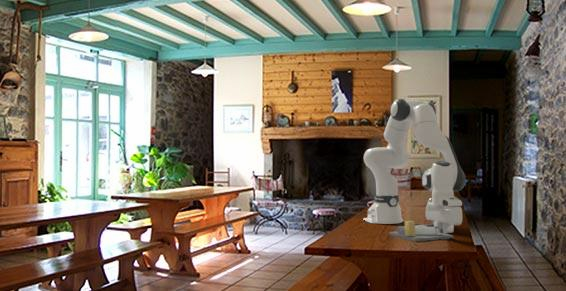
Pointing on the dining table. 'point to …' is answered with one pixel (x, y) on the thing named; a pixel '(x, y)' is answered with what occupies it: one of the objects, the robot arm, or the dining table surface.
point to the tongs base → (402, 228)
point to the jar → (450, 228)
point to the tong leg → (428, 231)
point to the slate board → (421, 237)
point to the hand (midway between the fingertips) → (443, 233)
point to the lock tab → (410, 228)
